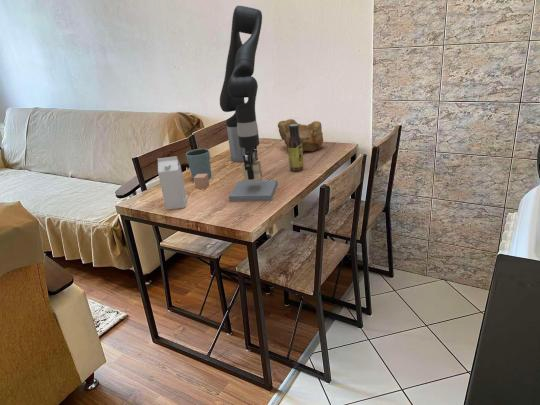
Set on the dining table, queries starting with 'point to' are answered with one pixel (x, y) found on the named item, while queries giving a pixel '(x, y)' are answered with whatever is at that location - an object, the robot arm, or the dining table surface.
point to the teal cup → (199, 162)
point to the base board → (254, 190)
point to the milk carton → (172, 183)
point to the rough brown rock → (303, 134)
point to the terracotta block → (201, 181)
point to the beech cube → (256, 170)
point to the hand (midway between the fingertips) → (253, 176)
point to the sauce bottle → (295, 149)
